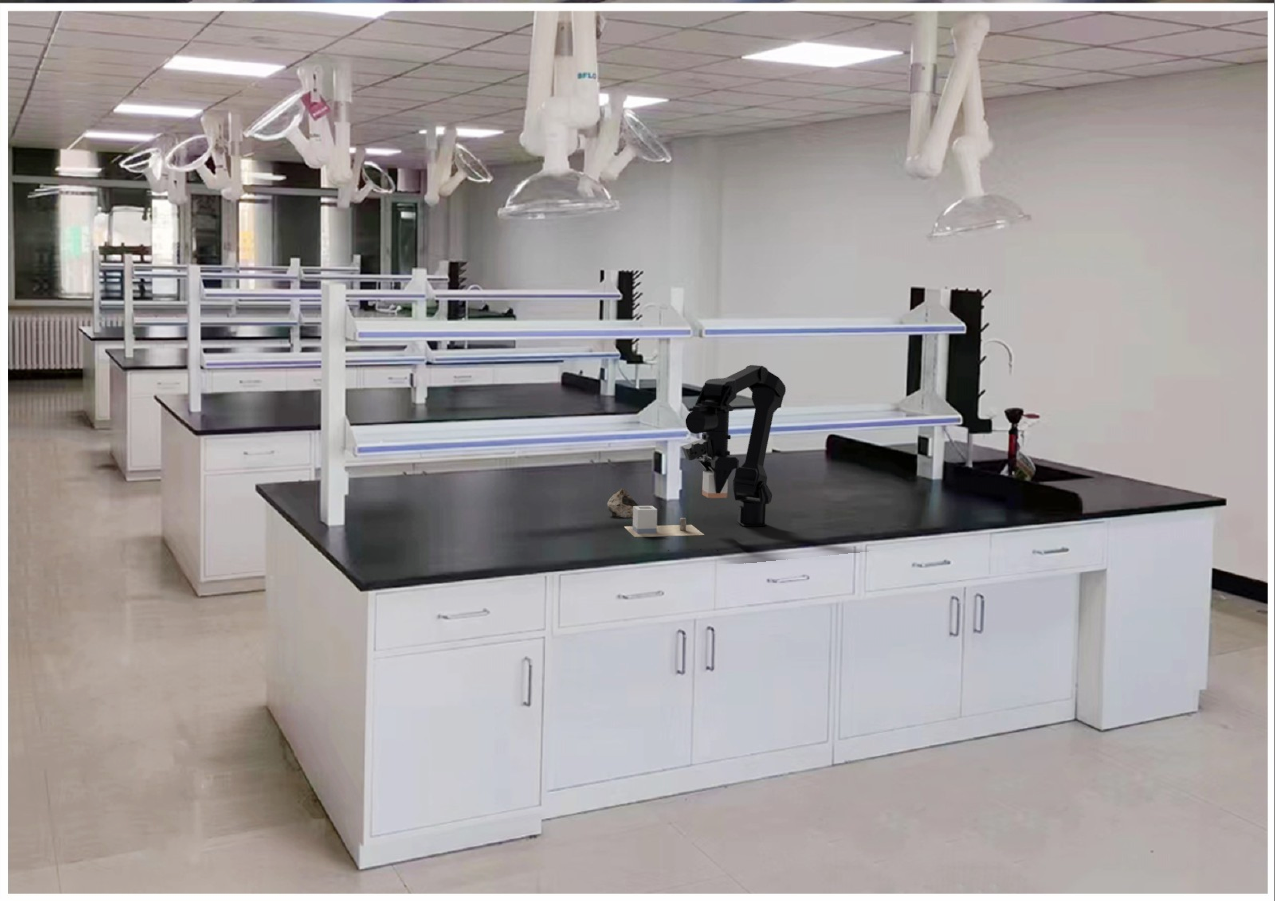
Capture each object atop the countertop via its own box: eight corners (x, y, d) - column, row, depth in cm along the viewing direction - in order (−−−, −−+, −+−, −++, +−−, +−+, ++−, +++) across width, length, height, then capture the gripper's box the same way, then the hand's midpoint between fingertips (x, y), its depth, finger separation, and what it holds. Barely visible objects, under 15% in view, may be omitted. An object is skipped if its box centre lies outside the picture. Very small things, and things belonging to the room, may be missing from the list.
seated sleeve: (651, 528, 325) (652, 505, 324) (656, 533, 320) (657, 509, 319) (632, 529, 324) (633, 506, 323) (637, 533, 319) (637, 510, 318)
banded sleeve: (720, 494, 325) (721, 470, 324) (727, 497, 320) (728, 474, 319) (702, 494, 324) (703, 471, 323) (708, 498, 319) (708, 474, 318)
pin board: (691, 529, 331) (691, 513, 330) (704, 539, 319) (704, 523, 319) (623, 531, 327) (624, 515, 326) (634, 541, 315) (634, 525, 315)
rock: (642, 509, 348) (614, 487, 346) (654, 503, 341) (625, 480, 340) (627, 534, 344) (598, 512, 342) (638, 528, 337) (609, 505, 335)
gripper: (675, 425, 326) (673, 485, 329) (697, 435, 308) (695, 498, 311) (717, 425, 329) (715, 484, 331) (740, 435, 311) (738, 497, 314)
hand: (714, 491), depth 322 cm, fingers closed on banded sleeve, 5 cm apart
